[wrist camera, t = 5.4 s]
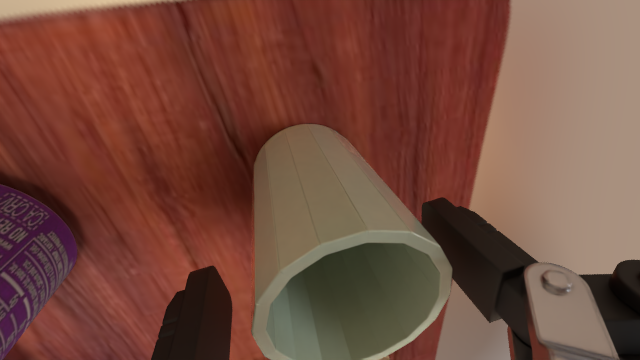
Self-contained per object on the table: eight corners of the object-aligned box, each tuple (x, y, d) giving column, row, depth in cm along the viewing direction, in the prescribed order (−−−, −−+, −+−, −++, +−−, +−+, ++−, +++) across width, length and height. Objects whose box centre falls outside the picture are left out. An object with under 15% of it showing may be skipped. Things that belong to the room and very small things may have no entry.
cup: (288, 101, 13) (335, 194, 6) (375, 155, 16) (489, 270, 8) (233, 194, 15) (213, 360, 7) (319, 229, 18) (371, 380, 10)
